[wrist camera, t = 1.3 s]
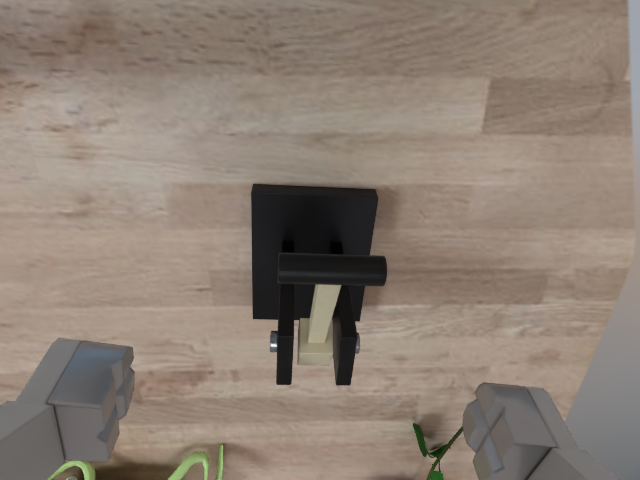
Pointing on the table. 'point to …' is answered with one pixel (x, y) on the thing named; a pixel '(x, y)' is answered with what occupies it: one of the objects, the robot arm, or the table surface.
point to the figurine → (176, 476)
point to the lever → (326, 294)
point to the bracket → (314, 238)
